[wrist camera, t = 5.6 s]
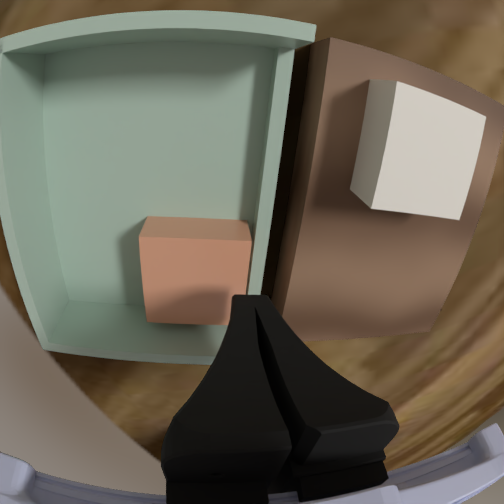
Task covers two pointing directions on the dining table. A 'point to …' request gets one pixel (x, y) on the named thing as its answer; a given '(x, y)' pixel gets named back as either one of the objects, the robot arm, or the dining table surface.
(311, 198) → the walnut plate
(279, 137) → the green bin
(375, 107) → the white tile
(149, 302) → the terracotta tile
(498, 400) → the dining table surface
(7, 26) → the dining table surface
